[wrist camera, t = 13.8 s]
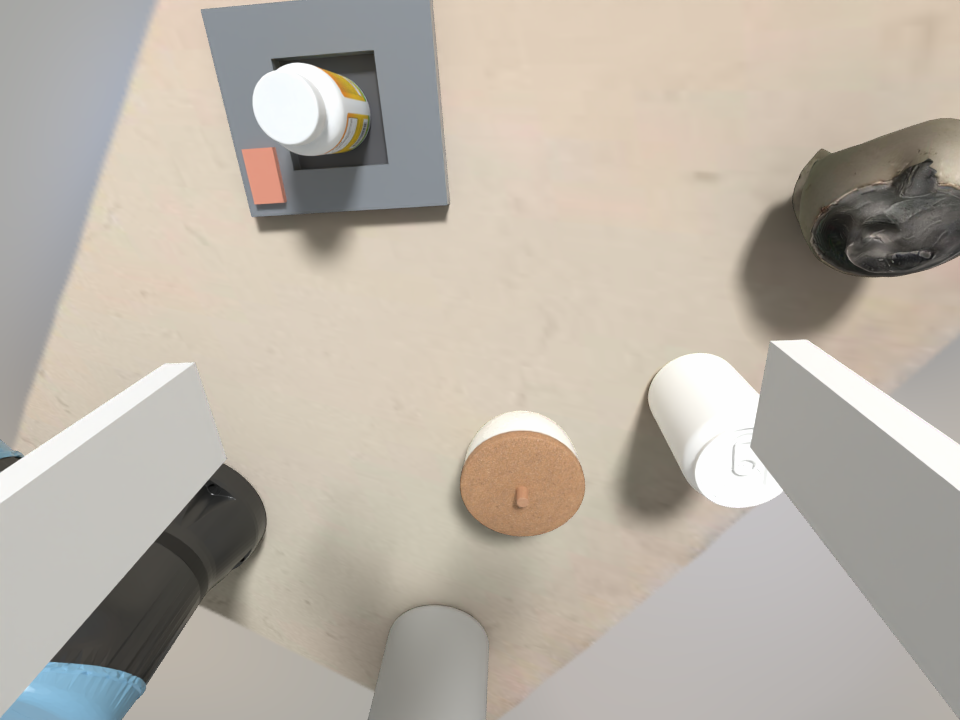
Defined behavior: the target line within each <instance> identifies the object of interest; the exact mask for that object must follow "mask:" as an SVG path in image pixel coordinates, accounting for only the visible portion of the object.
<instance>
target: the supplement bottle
mask: <svg viewBox="0 0 960 720" xmlns="http://www.w3.org/2000/svg"><path fill="white" fill-rule="evenodd" d="M253 111H254V115H255V117H256V120H257V122H258V124H259V126H260V127H261V128H262V130H263V131H264V132H265V133H266V134H267V135H268V136H269V137H270V138H272V139H273V140H275V141H277V142H279V143H280V144H281V145H282V146H283V147H285V148H286V149H288V150H289V151H291V152H294V153H296V154H299V155H305V156H318V155H325V154H334V153H343V152H348V151H351V150H353V149H355V148H356V147H358V146H359V145H360V144H361V143H362V142H363V141H364V139H365V138H366V136H367V134H368V131H369V128H370V121H371V115H370V108H369V105H368V102H367V99H366V97H365V96H364V94H363V92H362V91H361V89H360V88H359V87H358V86H357V85H356V84H355V83H354V82H352V81H351V80H350V79H348V78H346V77H344V76H342V75H339V74H336V73H333V72H330V71H327V70H324V69H322V68H319V67H316V66H313V65H310V64H305V63H290V64H287V65H284V66H282V67H280V68H278V69H277V70H275V71H272V72H269V73H267V74H266V75H264V76H263V77H262V78H261V79H260V80H259V81H258V83H257V85H256V87H255V89H254V93H253Z"/></svg>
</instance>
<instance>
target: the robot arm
mask: <svg viewBox="0 0 960 720" xmlns="http://www.w3.org/2000/svg"><path fill="white" fill-rule="evenodd" d="M750 448H751V449H752V451H753V452H754V453H755V454H756V456H757V457H758V458H759V460H760V461H761V462H762V464H763V465H764V466H765V467H766V469H767V470H768V471H769V473H770V474H771V475H772V477H773V478H774V479H775V480H776V482H777V483H778V484H779V486H780V487H781V488H782V490H783V491H784V492H785V493H786V495H787V496H788V497H789V499H790V500H791V501H792V503H793V504H794V505H795V506H796V508H797V509H798V510H799V512H800V513H801V514H802V515H803V517H804V518H805V519H806V521H807V522H808V523H809V524H810V526H811V527H812V529H813V530H814V531H815V532H816V534H817V535H818V536H819V538H820V539H821V540H822V541H823V543H824V544H825V545H826V547H827V548H828V549H829V551H830V552H831V553H832V554H833V556H834V557H835V558H836V560H837V561H838V562H839V564H840V565H841V566H842V567H843V569H844V570H845V571H846V573H847V574H848V575H849V577H850V578H851V579H852V580H853V582H854V583H855V584H856V586H857V587H858V588H859V590H860V591H861V592H862V594H863V595H864V596H865V597H866V599H867V600H868V601H869V603H870V604H871V605H872V606H873V608H874V609H875V610H876V612H877V613H878V614H879V616H880V617H881V618H882V620H883V621H884V622H885V623H886V625H887V626H888V627H889V629H890V630H891V631H892V632H893V634H894V635H895V636H896V638H897V639H898V640H899V642H900V643H901V644H902V645H903V647H904V648H905V649H906V651H907V652H908V653H909V654H910V656H911V657H912V659H913V660H914V661H915V662H916V664H917V665H918V666H919V668H920V669H921V670H922V672H923V673H924V674H925V675H926V677H927V678H928V679H929V681H930V682H931V683H932V685H933V686H934V687H935V688H936V690H937V691H938V692H939V694H940V695H941V696H942V697H943V699H944V700H945V701H946V703H947V704H948V705H949V707H950V708H951V709H952V711H953V712H954V713H955V714H956V716H957V717H958V718H959V720H960V445H959V444H958V443H956V442H955V441H953V440H952V439H951V438H949V437H948V436H946V435H945V434H943V433H942V432H940V431H939V430H937V429H936V428H935V427H933V426H931V425H930V424H929V423H927V422H926V421H924V420H923V419H922V418H920V417H919V416H917V415H916V414H914V413H913V412H911V411H910V410H908V409H907V408H906V407H904V406H902V405H901V404H900V403H898V402H897V401H895V400H894V399H892V398H891V397H890V396H888V395H887V394H885V393H884V392H882V391H881V390H879V389H878V388H877V387H875V386H874V385H872V384H871V383H869V382H868V381H866V380H865V379H863V378H862V377H861V376H859V375H858V374H856V373H855V372H853V371H852V370H850V369H849V368H847V367H846V366H845V365H843V364H842V363H840V362H839V361H837V360H836V359H834V358H833V357H831V356H830V355H829V354H827V353H826V352H824V351H823V350H821V349H820V348H818V347H817V346H816V345H814V344H813V343H811V342H810V341H808V340H782V341H770V344H769V349H768V354H767V360H766V365H765V370H764V376H763V381H762V386H761V391H760V397H759V402H758V407H757V412H756V418H755V423H754V428H753V434H752V439H751V444H750ZM226 459H227V457H226V454H225V451H224V448H223V445H222V442H221V439H220V436H219V433H218V430H217V427H216V424H215V421H214V418H213V415H212V412H211V409H210V406H209V403H208V400H207V397H206V394H205V391H204V388H203V385H202V382H201V379H200V376H199V373H198V370H197V367H196V364H195V363H169V364H163V365H162V366H160V367H159V368H157V369H156V370H154V371H153V372H151V373H150V374H148V375H147V376H145V377H144V378H142V379H141V380H139V381H138V382H136V383H135V384H133V385H132V386H130V387H129V388H127V389H126V390H124V391H123V392H121V393H120V394H118V395H117V396H115V397H114V398H112V399H111V400H109V401H107V402H106V403H104V404H103V405H101V406H100V407H98V408H97V409H95V410H94V411H92V412H91V413H89V414H88V415H86V416H85V417H83V418H82V419H80V420H79V421H77V422H76V423H74V424H73V425H71V426H70V427H68V428H67V429H65V430H64V431H62V432H61V433H59V434H58V435H56V436H55V437H53V438H52V439H50V440H49V441H47V442H46V443H44V444H43V445H41V446H40V447H38V448H37V449H35V450H34V451H32V452H31V453H29V454H28V455H26V456H24V455H23V454H22V453H20V452H18V451H13V450H12V449H11V448H10V447H9V446H8V445H6V444H5V443H4V442H3V441H2V440H0V720H122V718H123V717H124V716H125V714H126V713H127V712H128V710H129V709H130V708H131V707H132V705H133V704H134V702H135V701H136V700H137V699H138V698H139V697H140V696H141V695H142V694H143V693H144V691H145V689H146V685H147V683H148V682H149V680H150V679H151V677H152V676H153V674H154V673H155V671H156V669H157V668H158V666H159V665H160V663H161V662H162V660H163V659H164V657H165V656H166V654H167V653H168V651H169V650H170V648H171V646H172V645H173V643H174V642H175V640H176V639H177V637H178V636H179V634H180V633H181V631H182V630H183V628H184V627H185V625H186V623H187V622H188V620H189V619H190V617H191V616H192V614H193V613H194V611H195V610H196V608H197V606H198V605H199V603H200V602H201V600H202V599H203V597H204V596H205V594H206V593H207V592H208V591H209V590H210V589H211V588H213V587H214V586H215V585H216V584H217V583H219V582H220V581H221V580H222V579H223V578H224V577H225V576H227V575H228V573H229V572H230V571H231V570H233V569H235V568H237V567H238V566H240V565H241V564H242V563H243V562H244V561H246V560H247V559H248V557H249V556H250V555H251V554H252V553H253V551H254V549H255V548H256V546H257V545H258V543H259V541H260V540H261V538H262V536H263V534H264V531H265V526H266V515H265V510H264V507H263V504H262V502H261V499H260V498H259V496H258V494H257V493H256V491H255V490H254V488H253V487H252V486H251V485H250V484H249V483H248V482H247V481H246V480H245V479H244V478H243V477H242V476H241V475H240V474H239V473H237V472H236V471H234V470H233V469H231V468H230V467H228V466H227V465H225V464H223V462H224V461H225V460H226Z"/></svg>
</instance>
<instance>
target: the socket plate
mask: <svg viewBox="0 0 960 720" xmlns="http://www.w3.org/2000/svg"><path fill="white" fill-rule="evenodd" d="M201 13H202V17H203V21H204V25H205V29H206V33H207V37H208V41H209V45H210V49H211V54H212V58H213V62H214V66H215V70H216V74H217V78H218V82H219V86H220V90H221V94H222V98H223V102H224V106H225V110H226V114H227V119H228V123H229V127H230V131H231V135H232V139H233V143H234V147H235V151H236V155H237V159H238V163H239V167H240V171H241V175H242V180H243V184H244V188H245V192H246V196H247V200H248V204H249V208H250V212H251V216H252V217H258V216H275V215H292V214H308V213H325V212H341V211H358V210H374V209H391V208H407V207H424V206H440V205H448V204H449V203H450V199H449V187H448V175H447V164H446V152H445V140H444V129H443V117H442V105H441V94H440V82H439V70H438V59H437V47H436V35H435V24H434V12H433V0H296V1H285V2H275V3H264V4H253V5H243V6H232V7H222V8H211V9H201ZM290 63H305V64H310V65H313V66H316V67H319V68H322V69H324V70H327V71H330V72H333V73H336V74H339V75H342V76H344V77H346V78H348V79H350V80H351V81H352V82H354V83H355V84H356V85H357V86H358V87H359V88H360V89H361V91H362V92H363V94H364V96H365V97H366V99H367V102H368V105H369V108H370V115H371V121H370V128H369V131H368V134H367V136H366V138H365V139H364V141H363V142H362V143H361V144H360V145H359V146H358V147H356V148H355V149H353V150H351V151H348V152H343V153H334V154H325V155H318V156H305V155H299V154H296V153H294V152H291V151H289V150H288V149H286V148H285V147H283V146H282V145H281V144H280V143H279V142H277V141H275V140H273V139H272V138H270V137H269V136H268V135H267V134H266V133H265V132H264V131H263V130H262V128H261V127H260V126H259V124H258V122H257V120H256V117H255V115H254V111H253V93H254V89H255V87H256V85H257V83H258V81H259V80H260V79H261V78H262V77H263V76H264V75H266V74H267V73H269V72H272V71H275V70H277V69H278V68H280V67H282V66H284V65H287V64H290Z"/></svg>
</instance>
